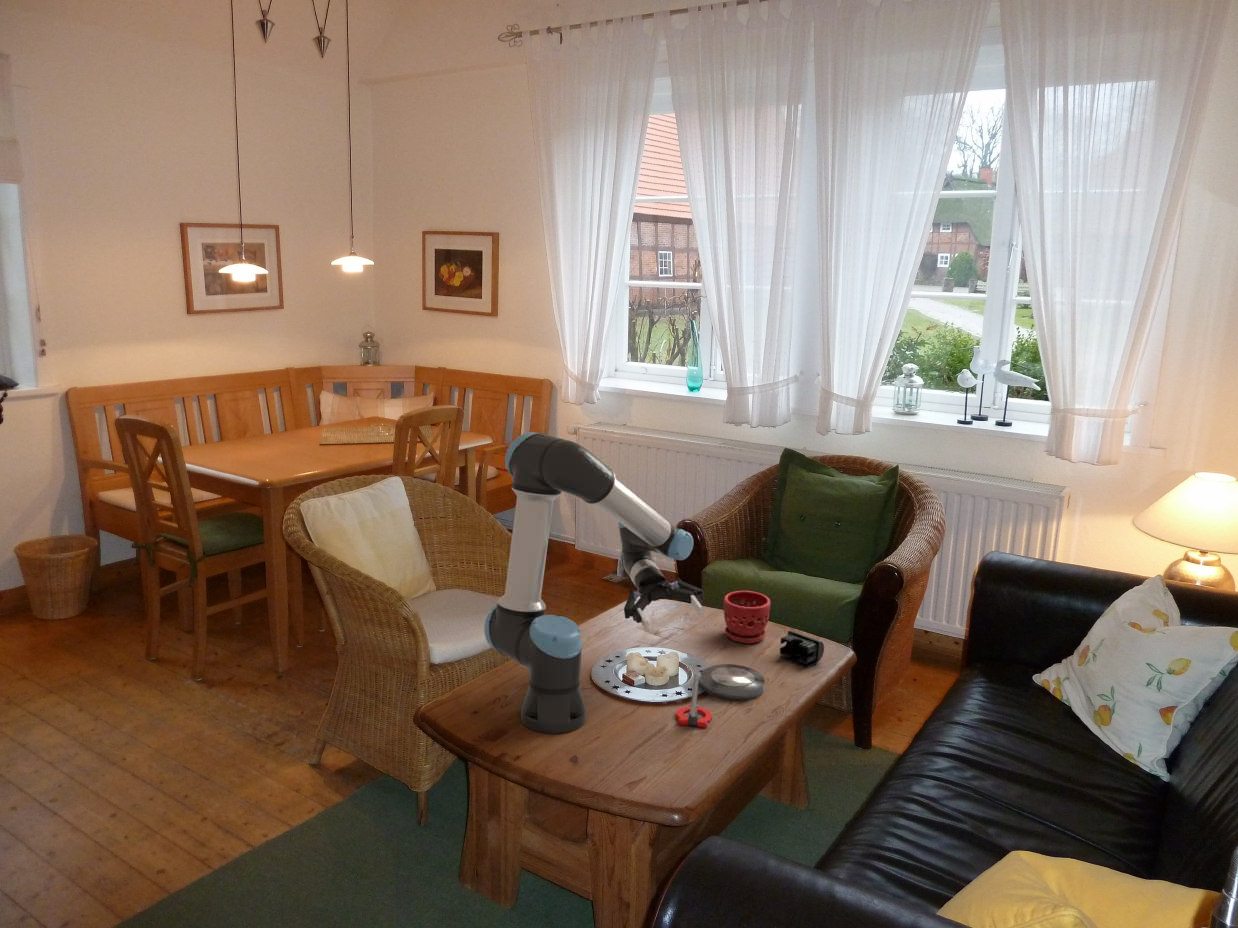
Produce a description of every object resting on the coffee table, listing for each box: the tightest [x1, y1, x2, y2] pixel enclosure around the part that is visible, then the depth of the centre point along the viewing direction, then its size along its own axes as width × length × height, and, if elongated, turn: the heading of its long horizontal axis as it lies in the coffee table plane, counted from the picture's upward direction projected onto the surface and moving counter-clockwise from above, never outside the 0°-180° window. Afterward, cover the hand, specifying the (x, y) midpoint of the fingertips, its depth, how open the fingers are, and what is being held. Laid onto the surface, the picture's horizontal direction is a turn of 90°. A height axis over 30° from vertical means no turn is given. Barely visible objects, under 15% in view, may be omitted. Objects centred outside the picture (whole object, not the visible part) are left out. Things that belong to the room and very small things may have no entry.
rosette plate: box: [700, 663, 766, 702], centre depth 245 cm, size 16×16×3 cm
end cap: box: [779, 630, 825, 669], centre depth 263 cm, size 10×7×7 cm
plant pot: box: [723, 590, 771, 644], centre depth 276 cm, size 13×13×12 cm
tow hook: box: [675, 672, 713, 728], centre depth 227 cm, size 8×13×9 cm
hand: (674, 619), depth 228 cm, fingers open, 13 cm apart
